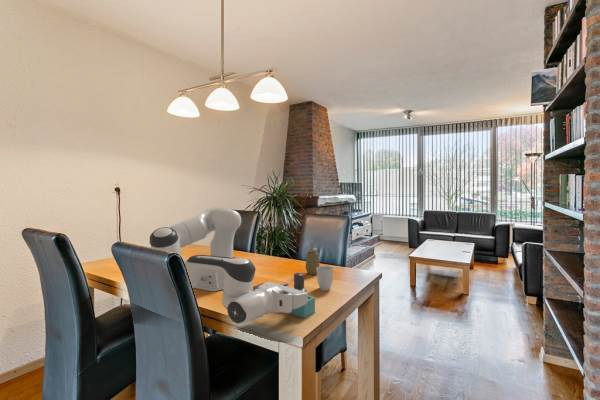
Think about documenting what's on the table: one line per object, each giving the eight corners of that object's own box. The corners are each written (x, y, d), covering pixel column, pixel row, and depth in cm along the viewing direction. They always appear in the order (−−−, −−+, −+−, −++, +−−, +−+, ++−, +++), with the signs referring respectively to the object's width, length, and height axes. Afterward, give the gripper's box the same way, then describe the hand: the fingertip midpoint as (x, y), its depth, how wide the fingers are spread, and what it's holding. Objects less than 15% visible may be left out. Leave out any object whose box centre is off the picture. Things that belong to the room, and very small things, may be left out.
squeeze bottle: (308, 276, 166) (307, 243, 165) (303, 272, 174) (303, 241, 173) (321, 274, 168) (321, 242, 167) (316, 271, 176) (316, 240, 175)
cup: (336, 287, 147) (336, 267, 147) (329, 292, 140) (329, 271, 140) (321, 284, 152) (321, 265, 151) (313, 289, 145) (313, 269, 144)
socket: (289, 313, 118) (289, 298, 118) (300, 307, 123) (300, 293, 123) (304, 318, 114) (304, 302, 113) (314, 312, 119) (314, 297, 118)
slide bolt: (272, 303, 126) (271, 269, 125) (278, 300, 129) (278, 267, 129) (303, 313, 115) (303, 277, 115) (310, 310, 119) (310, 274, 118)
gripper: (251, 300, 113) (276, 290, 124) (292, 314, 100) (317, 302, 111) (250, 283, 113) (276, 274, 123) (292, 295, 100) (317, 285, 111)
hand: (296, 287), depth 117 cm, fingers open, 8 cm apart
